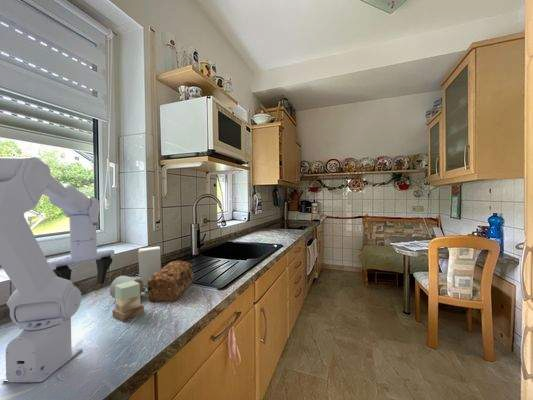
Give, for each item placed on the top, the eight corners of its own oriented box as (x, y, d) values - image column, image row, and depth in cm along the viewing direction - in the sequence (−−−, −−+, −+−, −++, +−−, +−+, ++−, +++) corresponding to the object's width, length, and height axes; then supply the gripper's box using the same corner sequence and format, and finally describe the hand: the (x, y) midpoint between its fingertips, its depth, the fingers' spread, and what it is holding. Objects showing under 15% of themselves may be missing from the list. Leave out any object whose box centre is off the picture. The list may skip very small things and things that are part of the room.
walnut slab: (123, 323, 64) (123, 314, 64) (112, 318, 67) (112, 309, 67) (143, 314, 69) (143, 305, 69) (133, 309, 72) (132, 301, 72)
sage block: (121, 301, 65) (121, 288, 65) (115, 296, 68) (114, 285, 68) (139, 295, 69) (139, 283, 69) (132, 291, 72) (132, 280, 72)
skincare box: (161, 279, 99) (160, 245, 99) (161, 283, 93) (161, 248, 93) (139, 282, 95) (138, 247, 95) (138, 287, 90) (138, 250, 90)
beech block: (122, 312, 65) (121, 300, 65) (115, 307, 68) (115, 296, 68) (140, 306, 69) (140, 294, 69) (133, 301, 72) (133, 291, 72)
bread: (170, 282, 95) (169, 259, 95) (195, 282, 95) (194, 258, 95) (145, 303, 76) (145, 273, 76) (176, 302, 76) (176, 273, 76)
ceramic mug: (129, 303, 75) (129, 281, 76) (109, 302, 77) (109, 279, 77) (151, 291, 86) (151, 271, 86) (133, 290, 88) (133, 270, 88)
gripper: (106, 234, 71) (107, 277, 71) (43, 243, 58) (44, 295, 58) (117, 236, 67) (118, 281, 67) (53, 245, 55) (54, 301, 55)
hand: (85, 288), depth 63 cm, fingers open, 7 cm apart
